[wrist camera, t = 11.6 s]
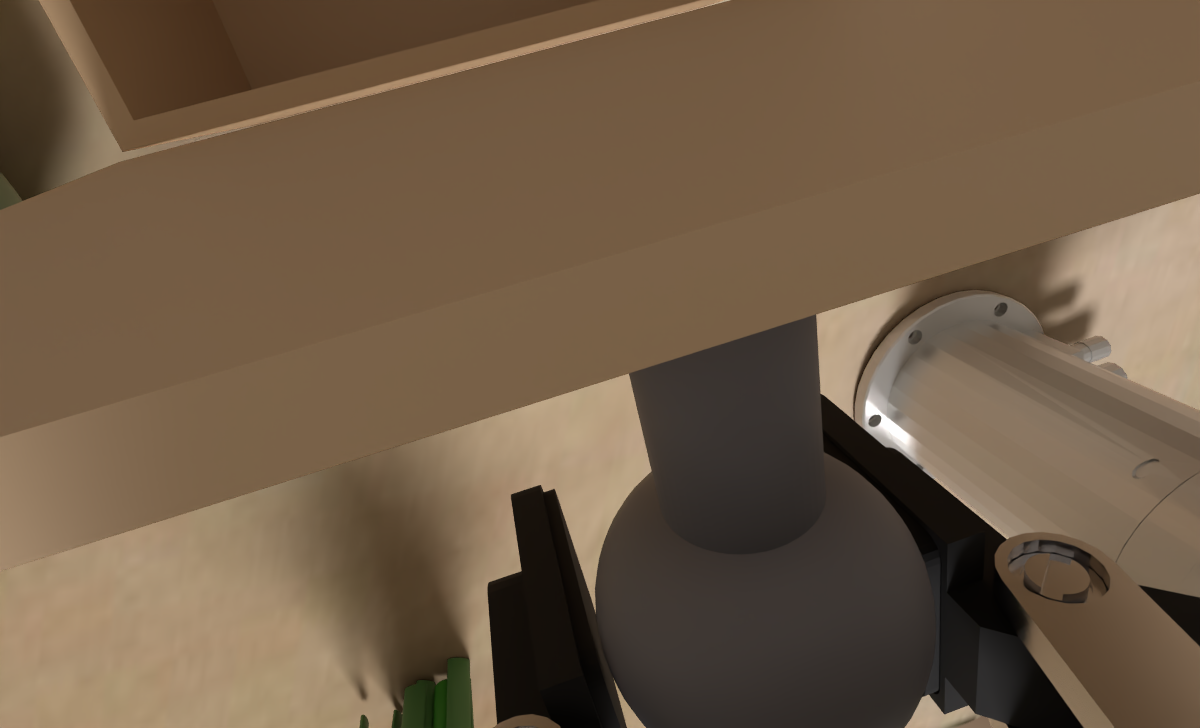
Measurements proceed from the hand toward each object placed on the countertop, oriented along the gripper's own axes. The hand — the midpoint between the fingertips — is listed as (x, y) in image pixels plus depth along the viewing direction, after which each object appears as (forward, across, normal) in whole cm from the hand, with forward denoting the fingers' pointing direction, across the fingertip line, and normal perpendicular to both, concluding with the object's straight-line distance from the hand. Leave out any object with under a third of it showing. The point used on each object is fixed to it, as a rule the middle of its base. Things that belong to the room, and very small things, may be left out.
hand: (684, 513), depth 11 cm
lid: (+10, 0, -8) cm, 13 cm away
